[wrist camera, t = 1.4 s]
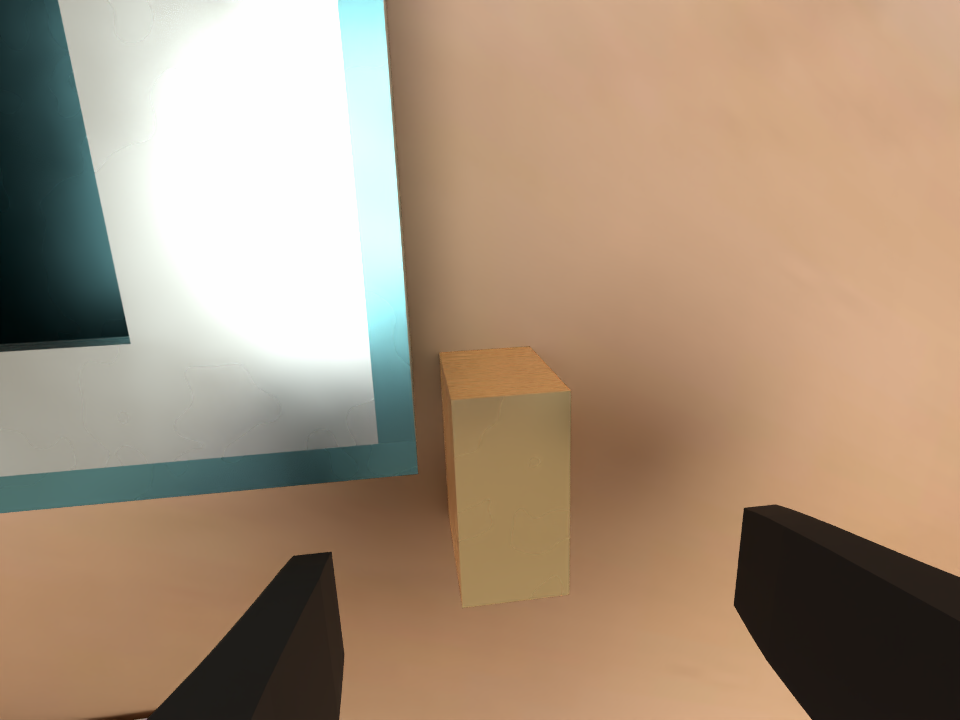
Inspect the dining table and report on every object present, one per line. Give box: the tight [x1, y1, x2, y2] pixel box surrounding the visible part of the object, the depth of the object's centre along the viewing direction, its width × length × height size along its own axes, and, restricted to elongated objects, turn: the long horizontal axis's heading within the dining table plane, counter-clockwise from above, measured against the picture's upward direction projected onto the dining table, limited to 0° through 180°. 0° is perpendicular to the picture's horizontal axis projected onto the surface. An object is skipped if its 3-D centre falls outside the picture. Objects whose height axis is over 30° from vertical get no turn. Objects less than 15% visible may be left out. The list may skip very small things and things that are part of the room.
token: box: [439, 346, 571, 608], centre depth 14 cm, size 5×2×4 cm, turn 2°
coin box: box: [0, 0, 418, 513], centre depth 10 cm, size 12×12×6 cm
